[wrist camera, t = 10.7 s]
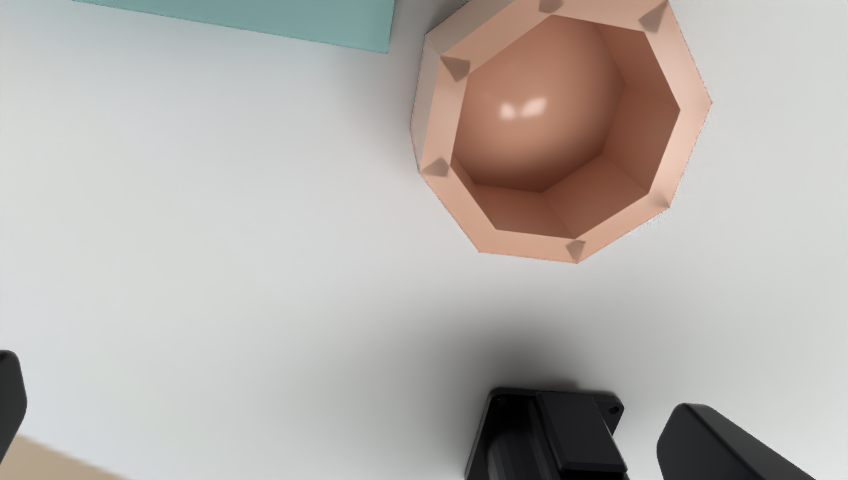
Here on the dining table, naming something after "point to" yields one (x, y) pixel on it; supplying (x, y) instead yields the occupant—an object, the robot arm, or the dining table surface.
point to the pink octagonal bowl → (556, 121)
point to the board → (283, 17)
